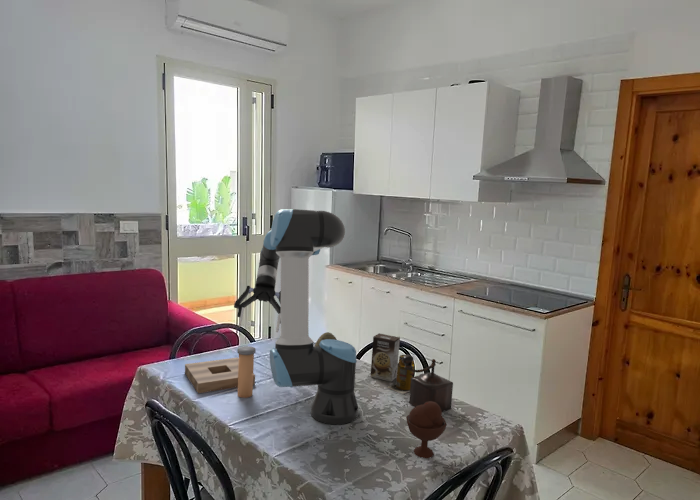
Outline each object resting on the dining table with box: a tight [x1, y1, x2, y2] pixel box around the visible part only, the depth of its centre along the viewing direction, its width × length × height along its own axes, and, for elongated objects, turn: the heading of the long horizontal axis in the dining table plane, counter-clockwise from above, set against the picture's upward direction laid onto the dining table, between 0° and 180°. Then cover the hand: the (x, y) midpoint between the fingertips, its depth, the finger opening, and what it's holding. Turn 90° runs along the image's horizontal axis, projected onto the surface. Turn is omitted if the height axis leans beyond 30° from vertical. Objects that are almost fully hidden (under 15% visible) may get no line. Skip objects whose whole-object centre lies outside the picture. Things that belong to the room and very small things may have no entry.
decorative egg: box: [313, 331, 338, 347], centre depth 193 cm, size 11×11×15 cm
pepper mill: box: [402, 354, 454, 413], centre depth 162 cm, size 16×11×18 cm
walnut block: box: [184, 356, 256, 394], centre depth 177 cm, size 20×20×4 cm
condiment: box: [387, 354, 415, 395], centre depth 178 cm, size 7×8×12 cm
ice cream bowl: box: [405, 401, 448, 459], centre depth 133 cm, size 11×11×15 cm
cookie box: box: [370, 333, 401, 382], centre depth 188 cm, size 9×6×16 cm
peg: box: [236, 345, 257, 399], centre depth 164 cm, size 6×6×16 cm
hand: (258, 327), depth 176 cm, fingers open, 13 cm apart
